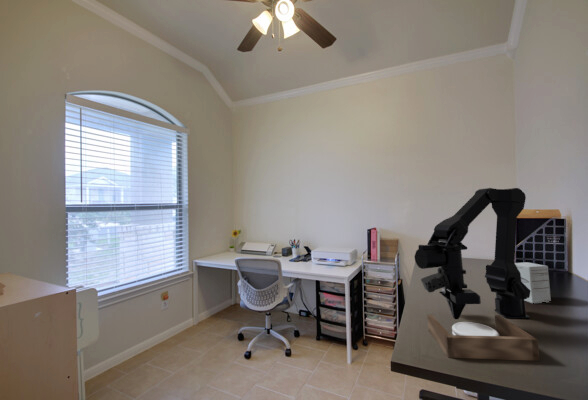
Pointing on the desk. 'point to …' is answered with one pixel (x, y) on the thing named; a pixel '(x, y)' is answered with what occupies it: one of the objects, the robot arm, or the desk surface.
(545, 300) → the supplement box
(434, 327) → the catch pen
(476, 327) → the coaster
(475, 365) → the desk surface
